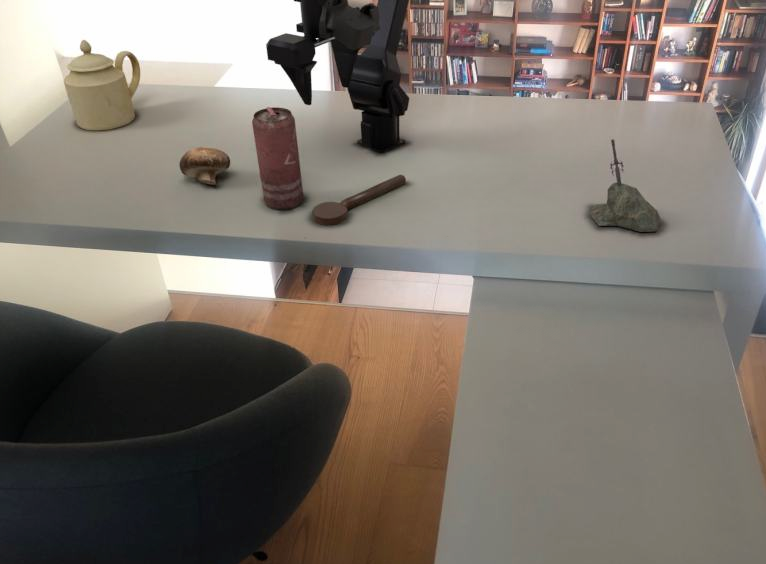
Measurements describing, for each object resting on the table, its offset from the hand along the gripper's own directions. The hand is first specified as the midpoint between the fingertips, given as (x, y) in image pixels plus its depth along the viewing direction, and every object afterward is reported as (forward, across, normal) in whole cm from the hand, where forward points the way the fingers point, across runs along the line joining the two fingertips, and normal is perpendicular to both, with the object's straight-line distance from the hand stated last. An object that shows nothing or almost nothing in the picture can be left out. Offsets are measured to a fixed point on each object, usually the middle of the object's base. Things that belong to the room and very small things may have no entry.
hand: (327, 95), depth 107 cm
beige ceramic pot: (+13, -4, +54) cm, 55 cm away
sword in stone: (+13, +12, -46) cm, 49 cm away
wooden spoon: (+13, -6, -10) cm, 17 cm away
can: (+13, -12, 0) cm, 18 cm away
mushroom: (+13, -13, +16) cm, 24 cm away
